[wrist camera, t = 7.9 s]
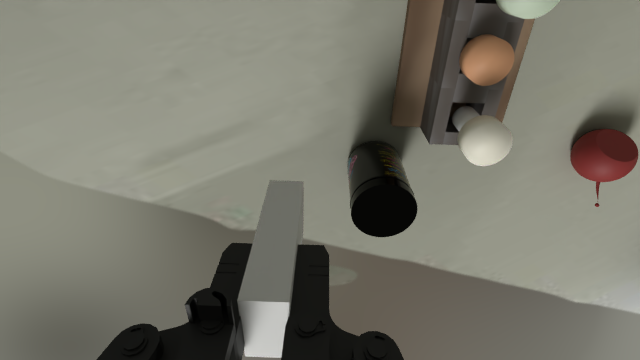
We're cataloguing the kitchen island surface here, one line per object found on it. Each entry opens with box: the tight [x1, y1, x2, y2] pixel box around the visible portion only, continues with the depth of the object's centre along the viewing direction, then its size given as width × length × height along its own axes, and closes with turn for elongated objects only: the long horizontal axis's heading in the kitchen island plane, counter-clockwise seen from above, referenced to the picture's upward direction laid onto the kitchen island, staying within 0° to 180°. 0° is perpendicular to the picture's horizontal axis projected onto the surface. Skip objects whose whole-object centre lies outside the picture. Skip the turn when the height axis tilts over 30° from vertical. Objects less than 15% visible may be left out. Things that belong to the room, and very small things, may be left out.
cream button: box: [452, 106, 513, 166], centre depth 33 cm, size 4×4×6 cm
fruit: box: [571, 129, 638, 207], centre depth 41 cm, size 6×6×8 cm
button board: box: [391, 0, 535, 145], centre depth 35 cm, size 12×18×6 cm
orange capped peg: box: [459, 34, 514, 86], centre depth 33 cm, size 4×4×6 cm
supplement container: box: [347, 141, 417, 237], centre depth 41 cm, size 7×7×10 cm
